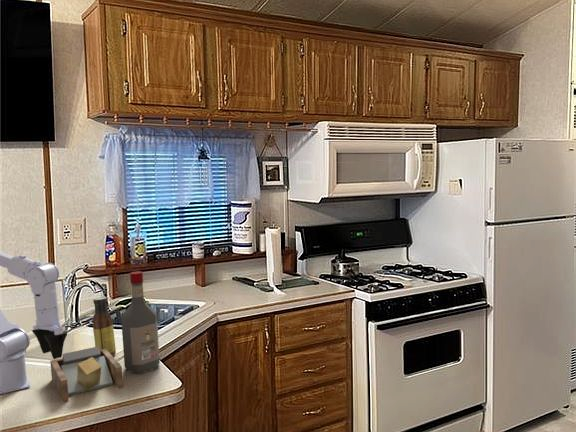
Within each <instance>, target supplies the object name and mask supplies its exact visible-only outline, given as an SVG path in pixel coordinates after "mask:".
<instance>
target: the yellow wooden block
mask: <svg viewBox="0 0 576 432" xmlns="http://www.w3.org/2000/svg"><path fill="white" fill-rule="evenodd" d="M100 375H101V366H100V365H99V364H98V363H97V361H96V360H95V359H94V358H93V357H91V358H89V359H87V360H85V361H83V362H81V363H79V364H78V371H77V382H78V383H79V384H80V385H81V386H82V388H83V389H84V390H85V392H88V391H87V390H89V389H90V388H92V387H94V386H96V385H98V384H100ZM89 391H90V390H89Z"/></svg>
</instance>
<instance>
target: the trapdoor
mask: <svg viewBox="0 0 576 432" xmlns="http://www.w3.org/2000/svg"><path fill="white" fill-rule="evenodd" d="M91 357H93V358H94V359H95V360H96V361H97V363H98V364H99V365H100V366H101V375H100V384H98V385H96V386H94V387H92V388H90V389H89V390H87V391H85V390H84V389H83V388H82V386H81V385H80V384H79V383H78V382H77V371H78V364H79V363H81V362H83V361H85V360H87V359H89V358H91ZM62 358H63V364H64V365H61V369H62V371H63V373H64V375H65V377H66V378H67V384H68V397H70V396H73V395H77V394H80V393H83V392H88V391H92V390H96V389H100V388H103V387H108V386H112V385H113V384H114V383H113V381H112V378H111V375H110V372H109V369H108V366H107V363H106V360H105V357H104V356H101V357H100V351H99V348H98V347H95V346H93V347H90V348H89V347H88V348H84V349H79V350H74V351H70V352H65V353H62Z"/></svg>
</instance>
